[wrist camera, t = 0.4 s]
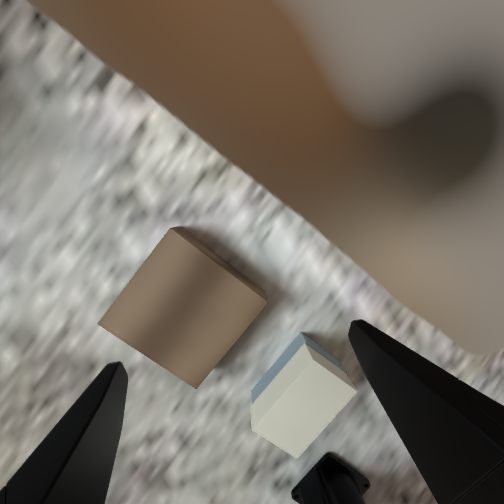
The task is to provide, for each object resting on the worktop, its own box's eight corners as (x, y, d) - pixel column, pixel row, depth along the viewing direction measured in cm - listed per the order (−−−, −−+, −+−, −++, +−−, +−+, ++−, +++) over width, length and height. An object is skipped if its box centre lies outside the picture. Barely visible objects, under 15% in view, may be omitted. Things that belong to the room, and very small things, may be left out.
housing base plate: (336, 357, 25) (346, 372, 23) (287, 412, 26) (292, 433, 23) (299, 330, 24) (306, 342, 22) (251, 387, 25) (252, 406, 23)
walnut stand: (264, 291, 23) (268, 302, 20) (201, 367, 24) (196, 389, 21) (179, 226, 22) (170, 228, 19) (115, 309, 23) (97, 323, 20)
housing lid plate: (344, 372, 22) (357, 391, 20) (290, 432, 23) (296, 458, 21) (304, 342, 22) (312, 359, 19) (250, 406, 23) (251, 430, 20)
